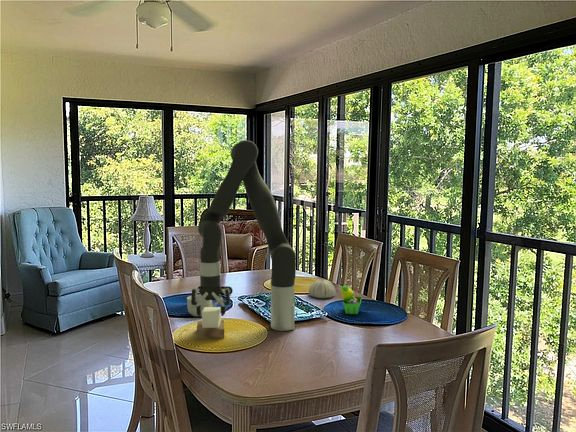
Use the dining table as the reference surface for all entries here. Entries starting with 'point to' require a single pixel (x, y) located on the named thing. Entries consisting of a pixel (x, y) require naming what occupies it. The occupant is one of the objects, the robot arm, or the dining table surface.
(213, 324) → the cream cube
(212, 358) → the dining table surface
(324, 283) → the sea urchin shell
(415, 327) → the dining table surface
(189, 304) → the teacup
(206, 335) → the walnut base
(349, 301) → the fruit basket
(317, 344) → the dining table surface
